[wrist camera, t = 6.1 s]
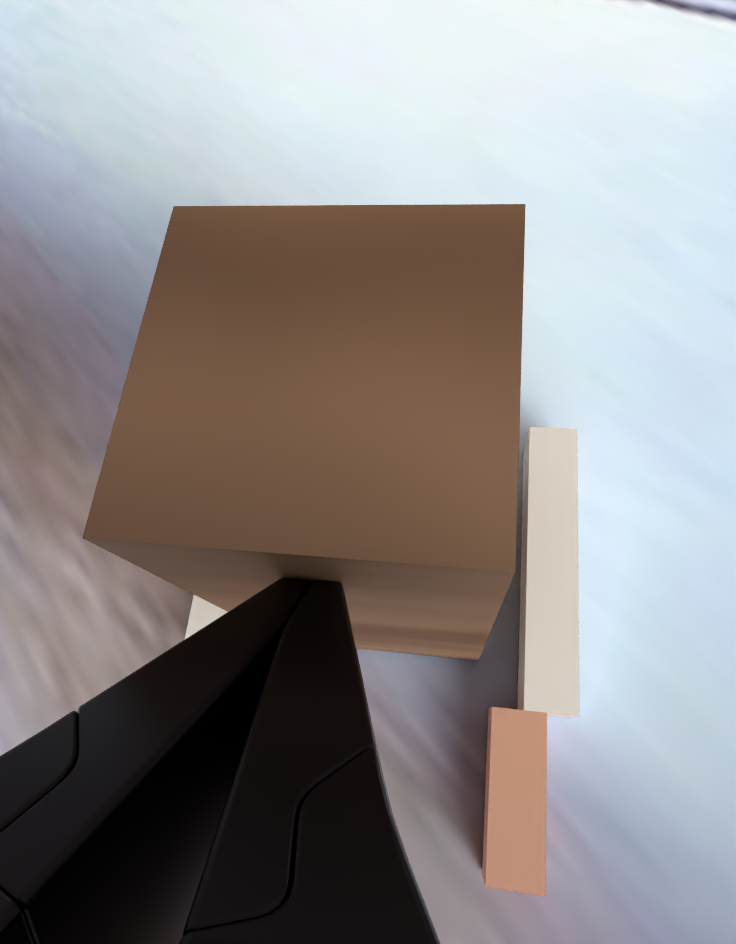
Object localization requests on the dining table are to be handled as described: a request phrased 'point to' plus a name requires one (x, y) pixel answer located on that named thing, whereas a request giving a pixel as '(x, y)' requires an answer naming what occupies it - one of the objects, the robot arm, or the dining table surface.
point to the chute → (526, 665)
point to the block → (329, 414)
